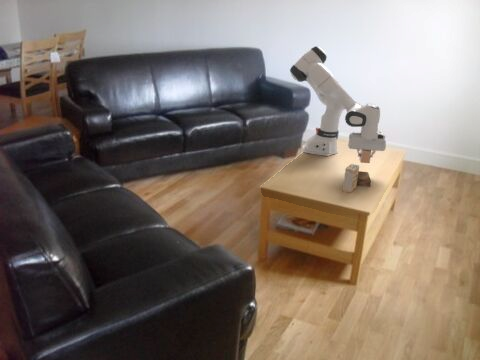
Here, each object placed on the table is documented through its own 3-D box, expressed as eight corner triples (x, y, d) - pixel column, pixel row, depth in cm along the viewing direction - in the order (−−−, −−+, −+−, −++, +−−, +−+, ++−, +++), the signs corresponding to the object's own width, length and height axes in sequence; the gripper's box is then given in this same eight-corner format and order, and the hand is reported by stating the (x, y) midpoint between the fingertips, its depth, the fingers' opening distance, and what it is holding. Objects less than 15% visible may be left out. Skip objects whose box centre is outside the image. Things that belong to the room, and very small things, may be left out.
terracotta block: (360, 162, 273) (362, 150, 270) (359, 159, 278) (361, 147, 275) (369, 163, 273) (371, 151, 270) (368, 159, 277) (369, 148, 274)
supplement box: (350, 193, 251) (354, 170, 246) (342, 191, 253) (345, 168, 248) (356, 188, 258) (359, 165, 252) (347, 186, 260) (351, 163, 255)
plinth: (349, 184, 261) (350, 177, 260) (347, 176, 271) (348, 170, 270) (369, 186, 260) (371, 179, 259) (367, 178, 270) (368, 171, 269)
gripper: (350, 134, 266) (347, 157, 272) (388, 136, 265) (384, 160, 271) (349, 130, 272) (345, 153, 278) (386, 132, 271) (382, 155, 276)
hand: (365, 156), depth 274 cm, fingers closed on terracotta block, 5 cm apart
